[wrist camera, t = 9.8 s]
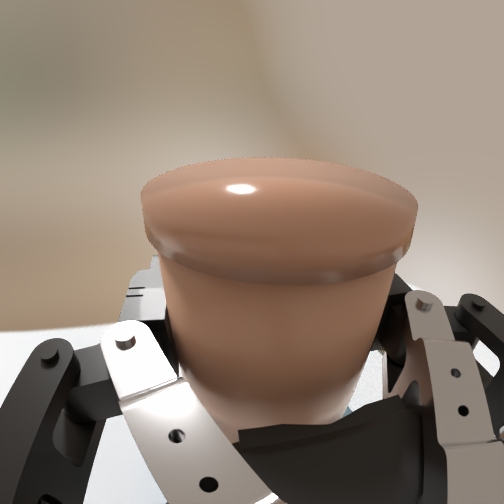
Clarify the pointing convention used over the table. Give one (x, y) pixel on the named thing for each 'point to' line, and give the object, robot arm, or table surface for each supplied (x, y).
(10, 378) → the table surface
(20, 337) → the table surface
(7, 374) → the table surface
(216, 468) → the robot arm
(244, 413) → the dome-topped peach cylinder
